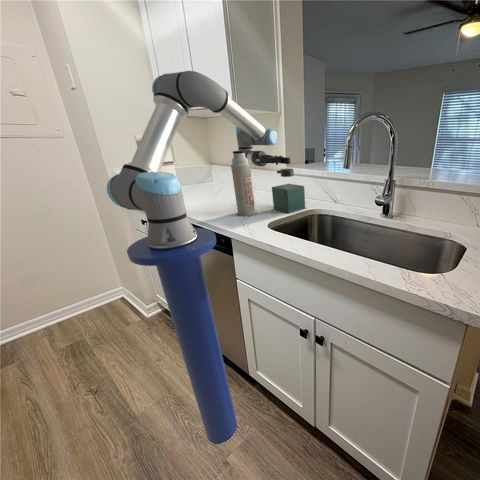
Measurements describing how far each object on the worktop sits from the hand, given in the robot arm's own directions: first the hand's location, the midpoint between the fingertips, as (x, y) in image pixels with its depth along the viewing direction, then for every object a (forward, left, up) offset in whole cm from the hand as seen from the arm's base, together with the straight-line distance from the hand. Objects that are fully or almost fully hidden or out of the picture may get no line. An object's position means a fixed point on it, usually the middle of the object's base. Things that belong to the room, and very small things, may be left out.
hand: (288, 160), depth 118 cm
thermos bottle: (-17, -14, -23) cm, 32 cm away
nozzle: (-3, +1, -7) cm, 8 cm away
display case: (-82, -7, -23) cm, 85 cm away
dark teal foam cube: (-2, 0, -23) cm, 23 cm away
